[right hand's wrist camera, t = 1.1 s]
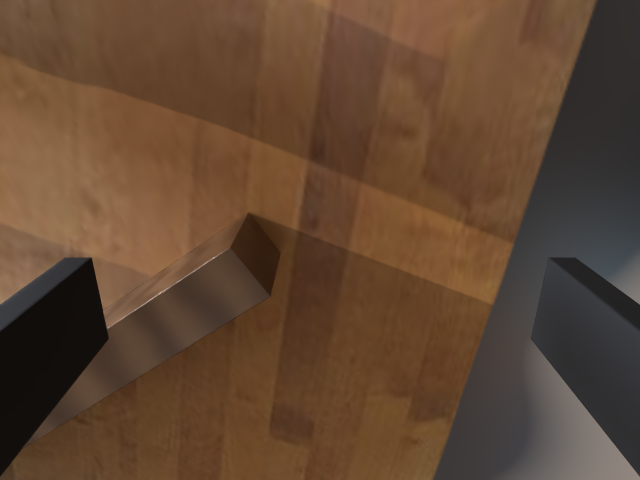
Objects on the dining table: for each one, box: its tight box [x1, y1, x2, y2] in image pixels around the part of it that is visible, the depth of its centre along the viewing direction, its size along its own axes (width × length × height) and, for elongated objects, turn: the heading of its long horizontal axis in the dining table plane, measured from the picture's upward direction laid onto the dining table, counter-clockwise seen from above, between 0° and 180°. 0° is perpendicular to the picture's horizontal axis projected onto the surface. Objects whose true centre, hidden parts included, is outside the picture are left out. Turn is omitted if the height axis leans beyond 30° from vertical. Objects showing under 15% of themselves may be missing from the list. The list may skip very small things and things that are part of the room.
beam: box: [22, 213, 280, 449], centre depth 41 cm, size 52×5×8 cm, turn 124°
